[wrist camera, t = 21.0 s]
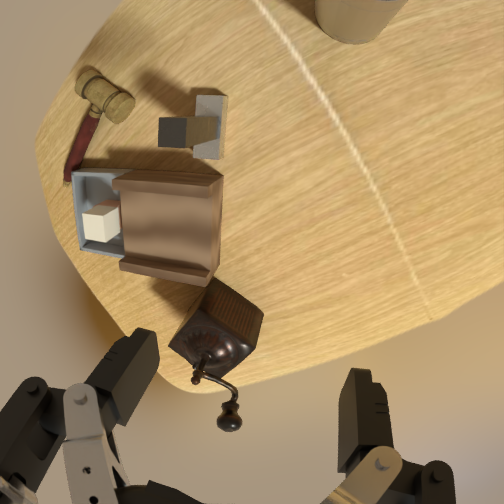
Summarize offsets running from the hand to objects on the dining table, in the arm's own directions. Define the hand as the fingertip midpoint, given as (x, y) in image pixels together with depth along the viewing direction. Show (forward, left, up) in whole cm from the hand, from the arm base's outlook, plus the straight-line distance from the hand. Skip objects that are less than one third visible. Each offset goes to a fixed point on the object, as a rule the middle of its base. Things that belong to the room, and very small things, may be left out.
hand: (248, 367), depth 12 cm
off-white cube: (+7, -27, -29) cm, 40 cm away
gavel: (-5, -34, -34) cm, 48 cm away
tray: (+7, -30, -33) cm, 45 cm away
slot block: (+7, -17, -33) cm, 38 cm away
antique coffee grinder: (+25, -7, -33) cm, 42 cm away
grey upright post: (-7, -12, -33) cm, 36 cm away
